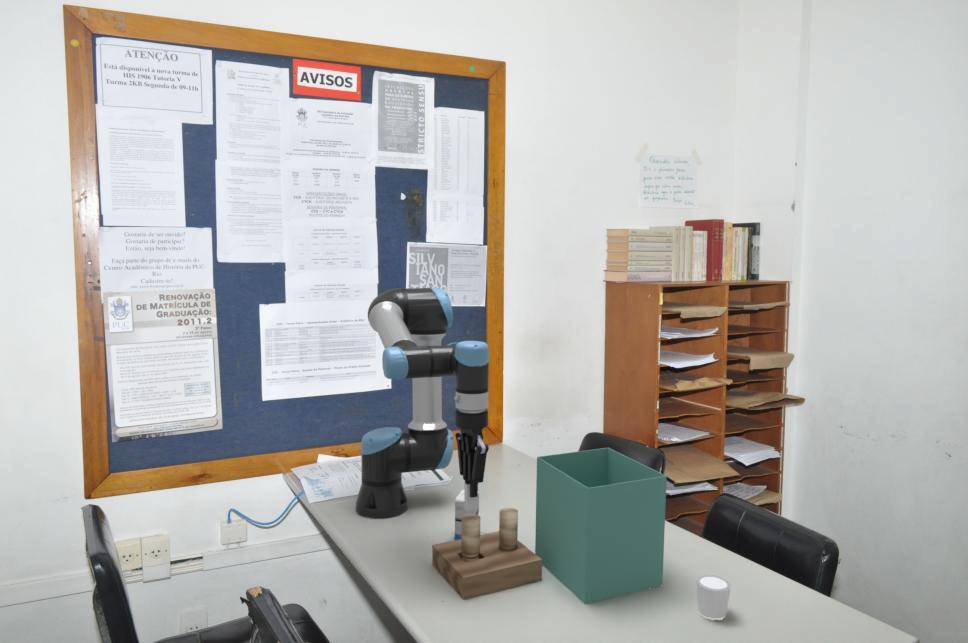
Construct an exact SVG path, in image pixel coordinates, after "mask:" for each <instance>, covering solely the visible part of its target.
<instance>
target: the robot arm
mask: <svg viewBox="0 0 968 643" xmlns="http://www.w3.org/2000/svg"><path fill="white" fill-rule="evenodd" d="M453 315H454V314H453V307H452V302H451V300H450V296H449V294H448V292H447V291H446V290H445V289H443V288H437V287H436V288H435V287H422V288H421V287H417V288H414V287H412V288H411V287H410V288H408V287H407V288H401V287H400V288H397V287H396V288H390V289H388V290H386V291H383V292H381V293H380V294H378V295H376V297H375V298H374V299H373V300H372V301H371V303H370V305H369V307H368V310H367V319H368V323H369V325H370V327H371V329H372V330H373V331H375V332H377V333H378V334H377V335H378V337H379V340H380V341H381V343H382V345H383V348H384V349H383V351H382V358H381V359H382V360H381V362H382V365H381V366H382V370H383V375H384V377H385V378H386V379H388V380H399V381H401V380H407V379H408V380H410V379H412V421H411V422H409V423H408V424H407V431H405V432H403V431H402V430H401V428H400V427H398V426H397V427H396V426H393V427H392V426H386V427H385V426H383V427H379V428H376V429H372V430H370V431H368V432H366V433H365V434H364V435H363V436H362V439H361V443H360V444H361V446H360V447H361V448H360V454H361V456H360V457H361V459H360V460H361V485H360V488H359V491H358V494H357V498H356V501H355V511H356V512H357V514H358V515H359V516H361V517H365V518H372V519H386V518H392V517H396V516H399V515H402V514H404V513H405V512H406V511H407V510H408V508H409V506H408V505H409V503H408V502H409V500H408V497H407V494H406V491H405V488H404V484H403V482H402V481H403V480H402V476H403V475H402V474H403V473H412V472H414V473H415V472H424V471H425V472H427V471H436V470H442V469H445V468H447V467H448V466H449V465H450V464H451V461H452V458H453V455H454V454H453V453H454V446H455V444H454V437H455V439H456V445H457V456H458V457H457V458H458V467H459V474H460V476H462V479H463V481H464V490H465V491H464V509H465V510H467V511H470V510H475V509H478V491H479V484H480V483H483V482H484V478H485V470H486V461H487V455H488V452H489V448H490V447H489V444H485V443H484V434H483V429H484V428H486V427H488V425H489V411H488V410H487V409H489V366H490V364H489V362H490V354H489V345H488V344H487V342H485V341H480V340H479V341H478V340H464V341H459V342H451V343H448V344H446V345H445V344H443V345H442V340H443V338H444V337H445V336H446V335H447V329H449V328H451V327H452V326H453V320H454V316H453ZM445 377H447V378H449V377H455V396H454V397H453V399H454V401H455V408H456V409H455V412H454V413H455V415H454V416H455V417H454V418H455V420H454V422H455V423H454V424H455V426H456V427H457V428H459V429H460V432H456V433H455V436H454V435H453V432H452V430H451V429H449V428H448V424H447V423H446V422H445V421H444V420H443V414H442V413H443V411H442V408H443V407H442V406H443V404H442V403H443V402H442V398H443V396H442V394H443V392H442V391H443V390H442V388H443V386H442V385H443V384H442V379H443V378H445Z"/></svg>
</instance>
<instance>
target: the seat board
mask: <svg viewBox="0 0 968 643" xmlns="http://www.w3.org/2000/svg"><path fill="white" fill-rule="evenodd" d="M498 514H499V519H498V521H499V522H498V523H499V525H498V527H499V529H498V530H499V531H494V532H489V533H484V534H480V552H479V559H477V560H473V561H468V562H465V561H464V560H463V559H462V552H461V539H459V540H455V539H454V540H451V541H445V542H440V543H436V544H432V546H431V549H432V550H431V554H432V557H431V558H432V560H431V561H432V562H431V564H432V566H433V567H434V568H435V570H436V571H437V572H438V573H439V574H440V576H441V577H442V578H444V580H446V582H447V583H448V584H449V585H450V586H451V587H452V588H453V590H454V591H455V592H456V593H457V594H458V595H459V596H460V597H461V598H462V600H466V599H467V600H468V599H472V598H475V597H480V596H484V595H487V594H488V595H489V594H491V593H496V592H499V591H504V590H507V589H512V588H515V587H520V586H524V585H527V584H532V583H535V582H539V581H542V579H543V577H542V576H543V575H542V574H543V565H542V559H541V558H540V557H538V556H537V555H536V554H535V552H533V551H532V550H531V549H530V548H528V547H527V546H525V544H523V543H522V542H520V541H519V540H518V533H519V532H518V531H519V530H518V528H519V527H518V523H519V521H518V520H519V512H518V509H516V508H513V507H503V508H500V509H499V513H498Z"/></svg>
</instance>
